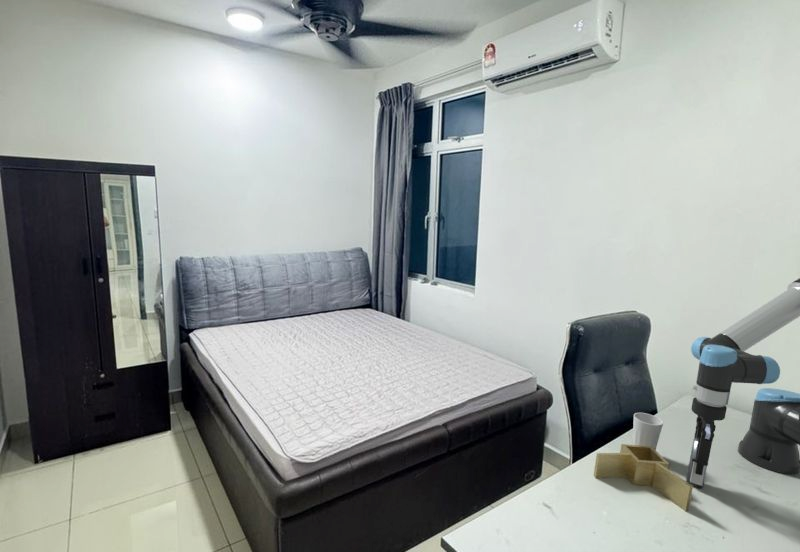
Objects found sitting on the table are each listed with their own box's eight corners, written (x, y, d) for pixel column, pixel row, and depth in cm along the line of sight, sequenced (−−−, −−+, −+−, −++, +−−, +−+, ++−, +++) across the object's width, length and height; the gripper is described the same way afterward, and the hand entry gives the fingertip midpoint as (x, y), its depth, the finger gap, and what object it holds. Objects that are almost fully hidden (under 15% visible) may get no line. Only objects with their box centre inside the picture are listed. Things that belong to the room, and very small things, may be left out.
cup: (629, 457, 130) (635, 421, 128) (626, 444, 138) (632, 410, 136) (659, 464, 127) (665, 427, 126) (654, 451, 135) (660, 416, 133)
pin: (696, 480, 120) (704, 438, 118) (706, 489, 117) (714, 446, 115) (682, 479, 121) (690, 437, 119) (691, 488, 117) (700, 445, 115)
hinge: (648, 467, 125) (652, 446, 124) (689, 511, 107) (693, 486, 106) (584, 463, 125) (587, 441, 124) (614, 506, 107) (618, 481, 106)
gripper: (691, 387, 124) (678, 460, 127) (695, 408, 109) (681, 489, 113) (722, 394, 120) (708, 469, 124) (731, 417, 106) (715, 501, 109)
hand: (695, 478), depth 118 cm, fingers closed on pin, 4 cm apart
